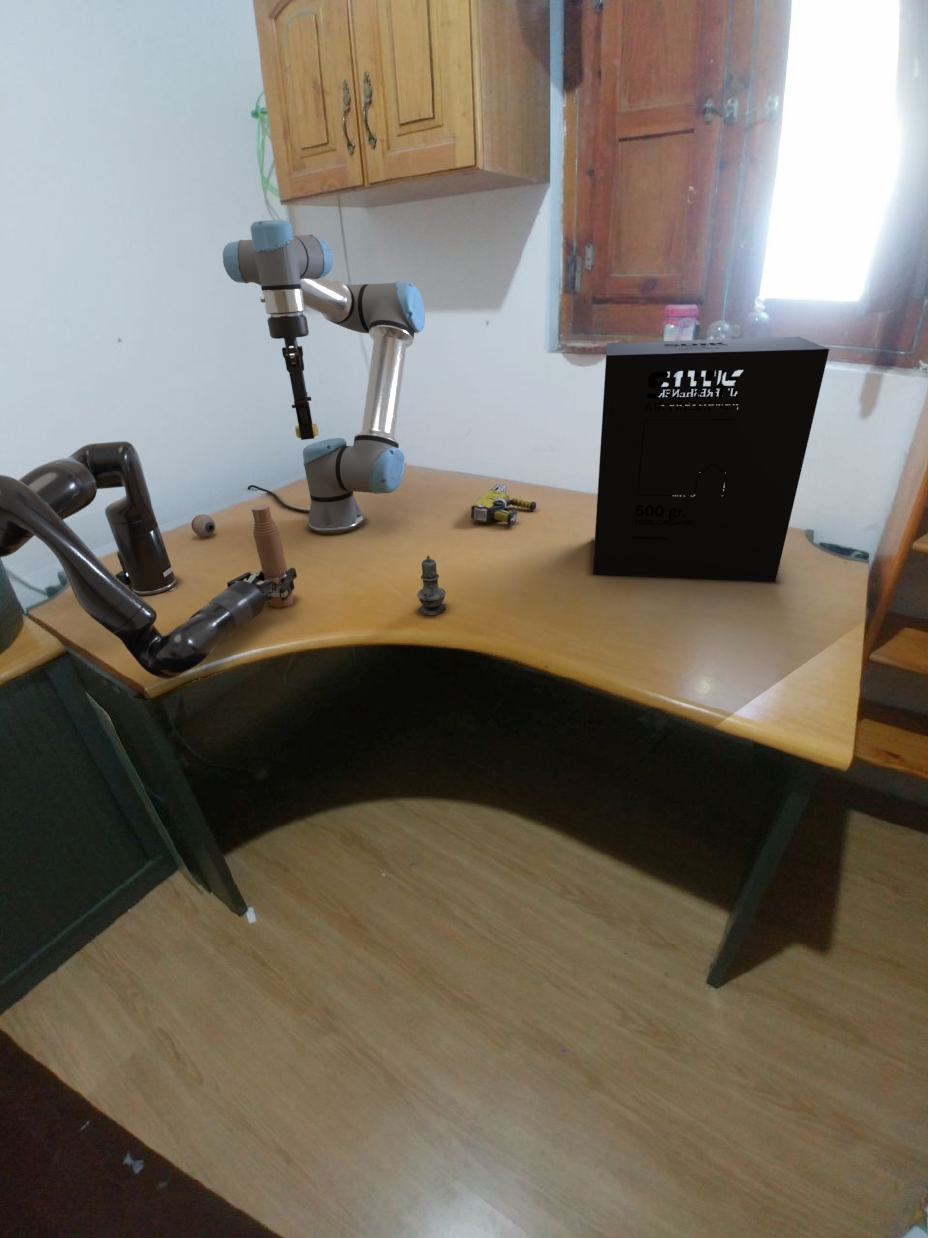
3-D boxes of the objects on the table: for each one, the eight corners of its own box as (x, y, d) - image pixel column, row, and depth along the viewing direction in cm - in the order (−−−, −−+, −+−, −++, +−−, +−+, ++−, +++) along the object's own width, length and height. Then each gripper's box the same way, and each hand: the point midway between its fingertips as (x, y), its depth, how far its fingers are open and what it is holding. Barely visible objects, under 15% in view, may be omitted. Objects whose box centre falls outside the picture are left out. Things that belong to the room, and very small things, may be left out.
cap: (292, 436, 129) (290, 426, 128) (310, 432, 132) (308, 422, 131) (304, 439, 127) (302, 429, 126) (322, 434, 129) (321, 424, 128)
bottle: (284, 594, 134) (263, 501, 123) (298, 600, 131) (278, 505, 120) (265, 603, 130) (242, 508, 120) (279, 609, 128) (257, 513, 117)
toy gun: (544, 489, 177) (495, 482, 181) (524, 514, 157) (469, 505, 161) (542, 504, 180) (494, 497, 183) (522, 531, 159) (468, 521, 163)
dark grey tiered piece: (443, 616, 121) (439, 562, 115) (415, 615, 122) (409, 561, 116) (449, 602, 126) (446, 549, 120) (422, 601, 127) (417, 548, 121)
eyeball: (204, 541, 163) (198, 520, 160) (190, 537, 166) (184, 517, 163) (223, 533, 168) (217, 513, 165) (208, 530, 171) (202, 510, 168)
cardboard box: (755, 543, 144) (798, 336, 121) (775, 581, 127) (829, 348, 104) (594, 538, 151) (606, 342, 129) (592, 573, 134) (606, 355, 112)
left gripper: (261, 594, 112) (309, 557, 126) (198, 587, 116) (250, 551, 130) (270, 629, 116) (315, 589, 129) (208, 620, 120) (258, 583, 134)
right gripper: (268, 314, 125) (290, 429, 136) (263, 318, 110) (288, 447, 121) (305, 311, 126) (324, 426, 138) (305, 315, 111) (326, 443, 123)
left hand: (282, 570), depth 130 cm, fingers closed on bottle, 5 cm apart
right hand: (307, 435), depth 129 cm, fingers closed on cap, 4 cm apart
